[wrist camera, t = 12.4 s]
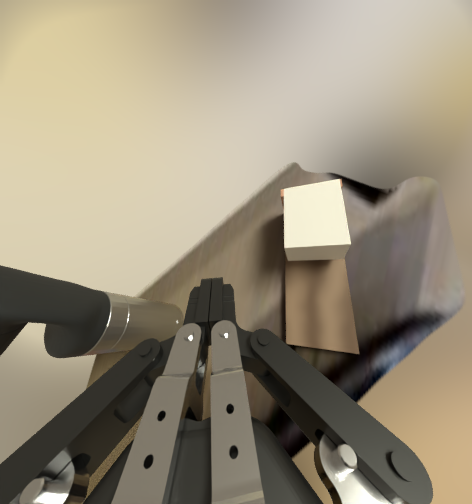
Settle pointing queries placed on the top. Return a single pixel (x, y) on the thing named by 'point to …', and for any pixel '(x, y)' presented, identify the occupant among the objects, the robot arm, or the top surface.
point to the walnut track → (319, 304)
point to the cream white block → (315, 222)
